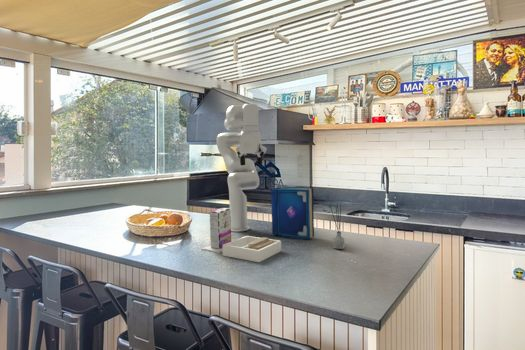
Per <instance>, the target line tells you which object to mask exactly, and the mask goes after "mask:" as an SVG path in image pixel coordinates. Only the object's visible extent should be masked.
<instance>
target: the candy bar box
mask: <svg viewBox="0 0 525 350" xmlns="http://www.w3.org/2000/svg"><path fill="white" fill-rule="evenodd" d="M209 226H210V229H209V230H210V232H209V233H210V235H209V236H210V245H211V248H217V249H220V248H222V247H223V244H226V243H229V242H231V241H232V231H231V215H230V207H221V208H217V209H214V210H212V211H210V212H209Z"/></svg>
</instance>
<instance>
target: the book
mask: <svg viewBox="0 0 525 350" xmlns="http://www.w3.org/2000/svg"><path fill="white" fill-rule="evenodd" d="M270 199H271V201H270V202H271V204H270V205H271V231H272V232H271V233H272V236H277V237H278V236H279V237H283V238H289V239H296V240H297V239H298V240H299V239H300V240H311V239H313V238H315V226H314V224H315V223H314V222H315V221H314V220H315V219H314V216H315V215H314V189H313V187H304V186H303V187H302V186H301V187H299V186H295V187H294V186H289V187H274V188H272V189H271V190H270Z"/></svg>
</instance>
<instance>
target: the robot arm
mask: <svg viewBox="0 0 525 350" xmlns="http://www.w3.org/2000/svg"><path fill="white" fill-rule="evenodd" d="M223 126H224V128H225V129H226V130H228V131H229V132H221V133H219V134H218V135H217V136H216V146H217V150H218V152H219V154H220V155H221V157H222V158H223V162H224V164H225V168H226V172H227V173H228V176H227V186H228V197H229V198H228V199H229V208H230V215H231V232H234V233H235V232H236V233H237V232H245V231H249V230H250V229H251V227H250V226H249V225H248V209H247V208H248V206H247V205H248V198H247V195H246V194H245V193H244V192H243V190H244V191H245V190H255V189H257V188H258V187H259V185H260V177H259V174H258V172H257V168H256V166H258V167H261V166H262V165H263V157H264V156H265V154H266V152H267V150H268V149H267V147H265V146H264V145H262V137H261V134H260V132H259V105H258V104H255V103H245V104H243V105H240V104H239V105H237V104H236V105H235V104H234V105H230V106H228V108H227V109H226V112H225V120H224V123H223ZM233 148H235V149H233ZM247 154H255V155H257V157H256V164H255V163H254V160H252V159H251V158H246V157H245V156H246V155H247Z"/></svg>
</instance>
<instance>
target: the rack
mask: <svg viewBox="0 0 525 350" xmlns="http://www.w3.org/2000/svg"><path fill="white" fill-rule="evenodd" d="M261 238H262V237H257V236H251V235H250V236H249V235H245V236H243V237H239V238H237V239H233V240H231V242H229V243H226V244H223V252H222V256H223V257H230V258H235V259H240V260H245V261H251V262H256V263H260V262H262V261H265V260H267V259H268V258H270V257H272V256H274V255H276V254H278V253H280V252H282V240H279V239H272V238H269V240H271V241H274V243H272V244H270V245H268V246H266V247H264V248H261V249H259V250H255V249H249V248H248V243H251V242H253V241H256V240H258V239H261Z"/></svg>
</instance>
